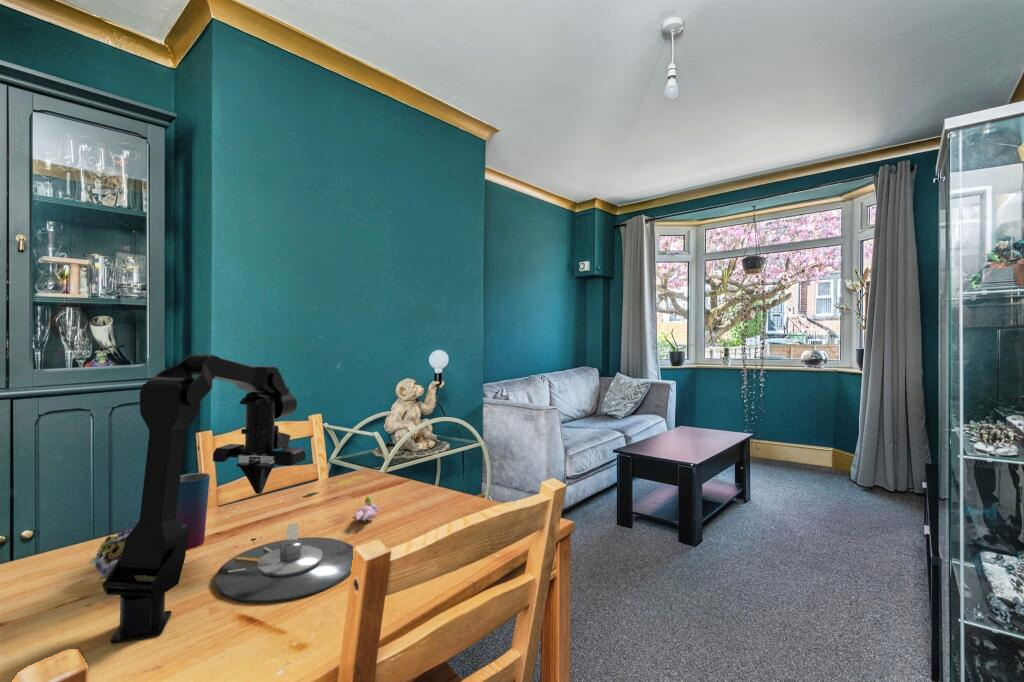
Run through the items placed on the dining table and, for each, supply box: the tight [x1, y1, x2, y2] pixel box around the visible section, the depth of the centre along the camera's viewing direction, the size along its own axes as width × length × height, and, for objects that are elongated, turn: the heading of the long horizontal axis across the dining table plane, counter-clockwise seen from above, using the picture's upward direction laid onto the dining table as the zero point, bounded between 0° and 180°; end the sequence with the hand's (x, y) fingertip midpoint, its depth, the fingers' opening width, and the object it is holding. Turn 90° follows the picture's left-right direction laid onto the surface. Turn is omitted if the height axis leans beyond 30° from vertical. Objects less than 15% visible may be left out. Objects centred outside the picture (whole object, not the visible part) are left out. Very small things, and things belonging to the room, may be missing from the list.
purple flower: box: [354, 495, 382, 522], centre depth 126 cm, size 6×6×15 cm
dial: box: [257, 522, 323, 576], centre depth 101 cm, size 17×12×4 cm
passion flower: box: [89, 527, 155, 580], centre depth 95 cm, size 11×11×12 cm
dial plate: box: [214, 536, 355, 604], centre depth 99 cm, size 26×26×1 cm
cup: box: [177, 472, 211, 549], centre depth 109 cm, size 7×7×15 cm
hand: (259, 493), depth 108 cm, fingers closed
